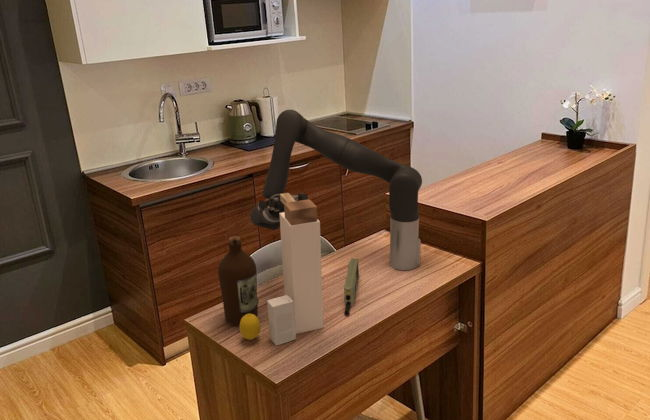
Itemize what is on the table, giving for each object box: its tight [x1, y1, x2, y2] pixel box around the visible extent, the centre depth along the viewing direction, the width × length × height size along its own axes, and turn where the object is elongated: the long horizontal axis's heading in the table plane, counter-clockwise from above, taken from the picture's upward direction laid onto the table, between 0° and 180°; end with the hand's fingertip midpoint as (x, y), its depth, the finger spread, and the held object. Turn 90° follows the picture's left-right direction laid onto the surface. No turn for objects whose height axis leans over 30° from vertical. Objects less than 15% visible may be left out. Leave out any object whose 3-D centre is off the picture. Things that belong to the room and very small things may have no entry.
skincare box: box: [266, 295, 297, 346], centre depth 154 cm, size 6×4×12 cm
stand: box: [279, 212, 324, 335], centre depth 158 cm, size 8×10×32 cm
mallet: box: [280, 192, 318, 225], centre depth 155 cm, size 7×18×4 cm, turn 20°
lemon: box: [239, 314, 261, 341], centre depth 155 cm, size 6×6×8 cm
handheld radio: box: [343, 257, 360, 316], centre depth 176 cm, size 7×3×25 cm
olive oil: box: [217, 235, 259, 327], centre depth 162 cm, size 11×11×25 cm
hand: (288, 198), depth 160 cm, fingers open, 8 cm apart
